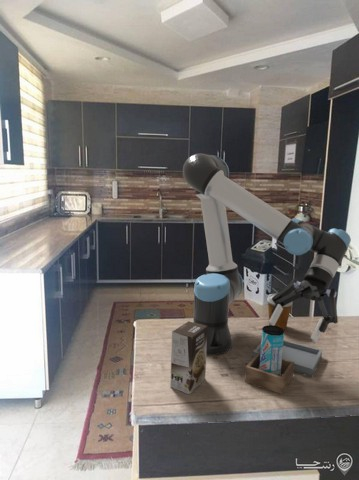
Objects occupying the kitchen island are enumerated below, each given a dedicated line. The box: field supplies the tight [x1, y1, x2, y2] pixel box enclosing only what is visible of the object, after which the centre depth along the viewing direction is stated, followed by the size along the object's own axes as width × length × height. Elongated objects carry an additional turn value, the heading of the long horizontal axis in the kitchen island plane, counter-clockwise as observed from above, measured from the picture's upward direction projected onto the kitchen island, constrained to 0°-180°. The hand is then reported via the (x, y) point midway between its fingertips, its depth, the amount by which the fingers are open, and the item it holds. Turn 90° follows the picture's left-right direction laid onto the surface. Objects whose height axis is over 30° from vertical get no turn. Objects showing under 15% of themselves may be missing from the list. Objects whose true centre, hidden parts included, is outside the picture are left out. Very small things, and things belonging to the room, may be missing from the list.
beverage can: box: [259, 324, 285, 376], centre depth 99 cm, size 6×6×15 cm
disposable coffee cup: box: [266, 293, 294, 331], centre depth 135 cm, size 10×10×12 cm
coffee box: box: [169, 320, 208, 395], centre depth 96 cm, size 9×6×16 cm
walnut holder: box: [244, 352, 295, 395], centre depth 100 cm, size 11×11×4 cm
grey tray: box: [252, 339, 323, 378], centre depth 112 cm, size 18×14×2 cm
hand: (291, 332), depth 101 cm, fingers open, 13 cm apart
